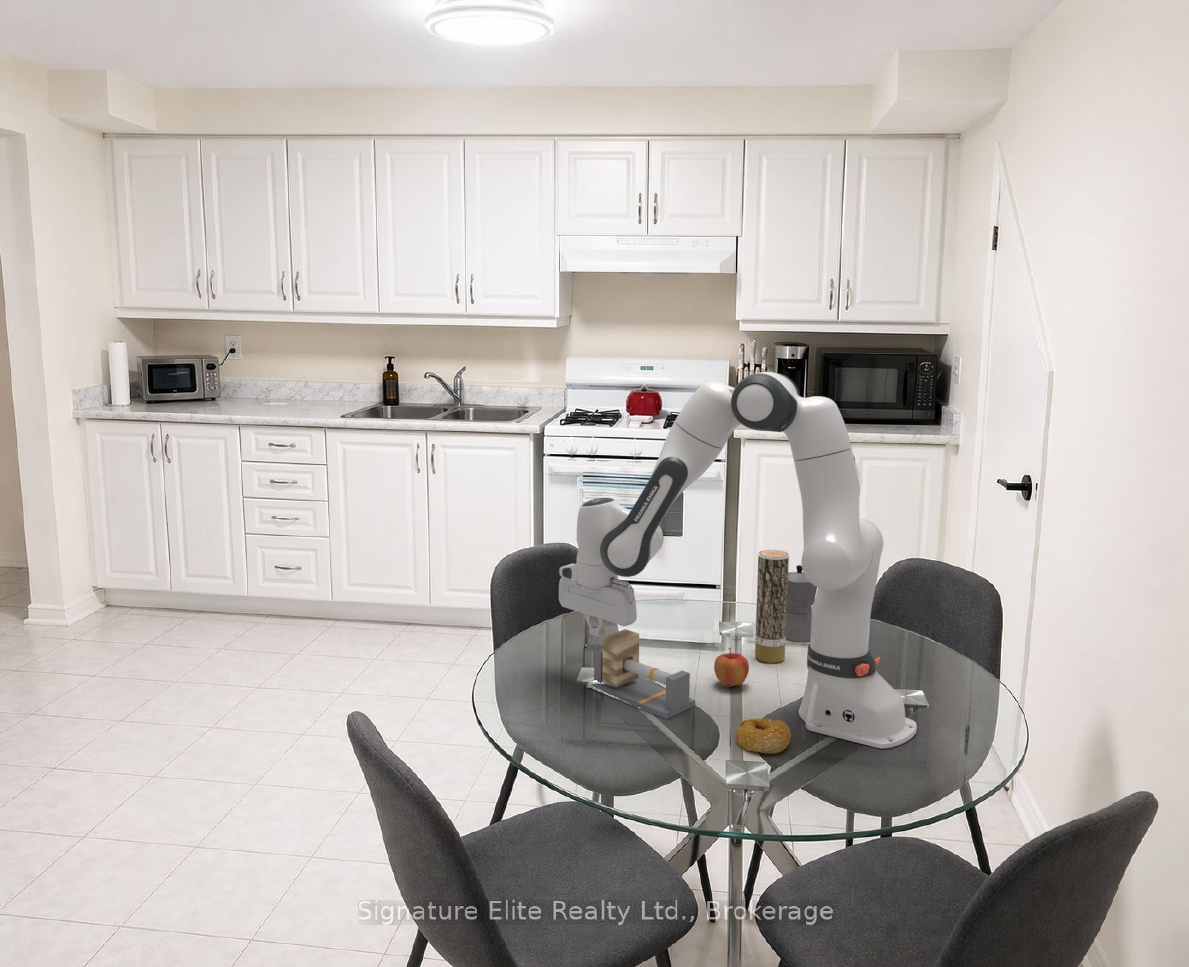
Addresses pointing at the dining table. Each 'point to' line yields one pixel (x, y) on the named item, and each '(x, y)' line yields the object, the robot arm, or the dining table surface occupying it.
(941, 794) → the dining table surface
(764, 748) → the bagel
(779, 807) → the dining table surface
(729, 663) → the apple
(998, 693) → the dining table surface
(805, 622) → the coffeepot
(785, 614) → the brown tall cylinder piece
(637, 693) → the pipe stand
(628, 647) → the collar
